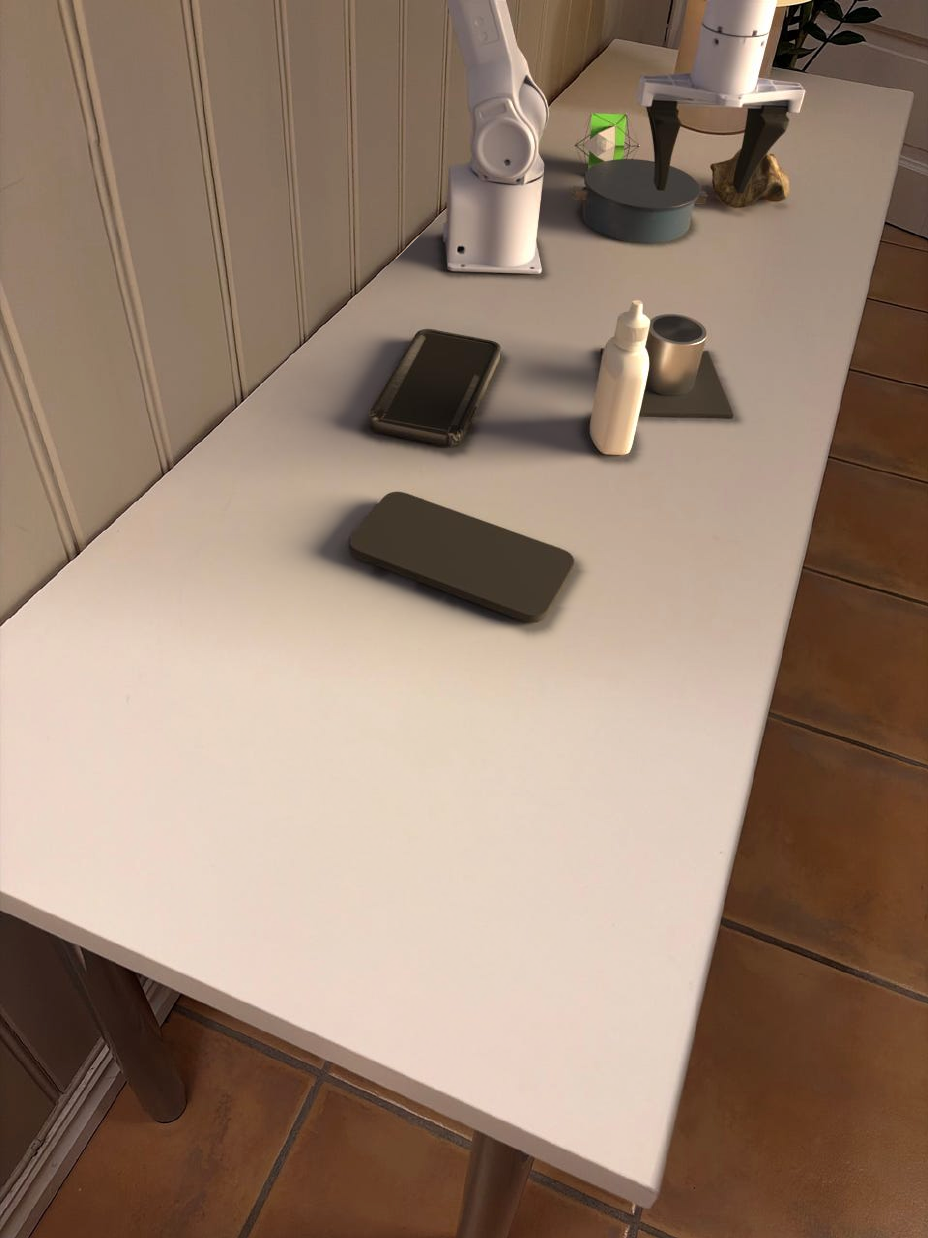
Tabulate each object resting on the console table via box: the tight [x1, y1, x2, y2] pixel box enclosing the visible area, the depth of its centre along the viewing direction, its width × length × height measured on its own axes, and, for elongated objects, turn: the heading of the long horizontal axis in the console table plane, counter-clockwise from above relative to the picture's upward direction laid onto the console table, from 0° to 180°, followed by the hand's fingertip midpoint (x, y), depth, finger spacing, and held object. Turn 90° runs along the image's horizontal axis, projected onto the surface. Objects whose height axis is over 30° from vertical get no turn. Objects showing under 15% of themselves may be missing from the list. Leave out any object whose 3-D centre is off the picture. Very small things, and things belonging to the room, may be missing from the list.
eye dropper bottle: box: [589, 299, 651, 456], centre depth 76 cm, size 4×6×12 cm
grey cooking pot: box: [572, 158, 708, 244], centre depth 108 cm, size 15×13×4 cm
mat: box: [600, 347, 734, 419], centre depth 86 cm, size 10×10×1 cm
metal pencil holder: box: [645, 313, 708, 396], centre depth 84 cm, size 5×5×5 cm
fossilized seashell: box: [709, 148, 790, 209], centre depth 113 cm, size 8×7×10 cm
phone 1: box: [369, 328, 501, 448], centre depth 83 cm, size 8×1×15 cm
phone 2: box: [347, 491, 575, 624], centre depth 69 cm, size 7×1×15 cm
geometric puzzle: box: [574, 112, 641, 170], centre depth 115 cm, size 7×7×8 cm
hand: (698, 187), depth 93 cm, fingers open, 7 cm apart
